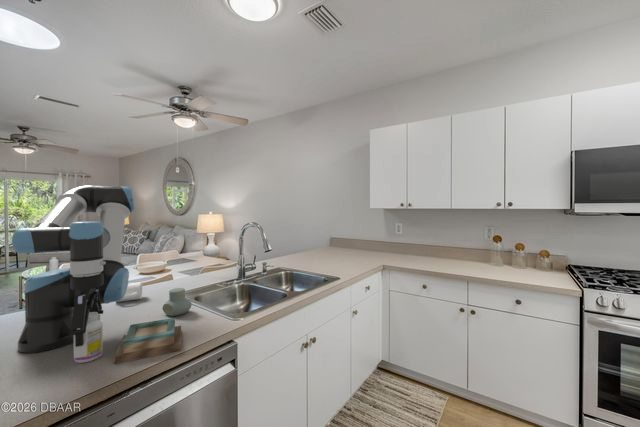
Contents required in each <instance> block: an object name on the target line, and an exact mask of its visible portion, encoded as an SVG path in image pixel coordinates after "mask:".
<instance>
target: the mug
mask: <svg viewBox="0 0 640 427" xmlns="http://www.w3.org/2000/svg"><path fill="white" fill-rule="evenodd" d="M142 297H143V283H142V282H132V283H128V286H127V290H126V293H125V296H124V297H123V298H122V299H121V300H120V301H116V302H115V303H122V302H129V301H136V300H142Z"/></svg>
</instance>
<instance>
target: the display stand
mask: <svg viewBox="0 0 640 427" xmlns="http://www.w3.org/2000/svg"><path fill="white" fill-rule="evenodd" d="M117 347H118V348H117V350H116V352H115V354H114V356H113V358H114V359H113V360H114V361H113V364H114V365H116V364H120V363H121V364H122V363H125V362H131V361H135V360H140V359H144V358H150V357H155V356H160V355H164V354H169V353H175V352H179V351H182V325H176V319H175V317H172V318H165V319H160V320H158V319H157V320H152V321H147V322H140V323H134V324H130V325H129V328H128V330H127V333H126V334H124V335H123V337H122V339H121V341H120V344H119V345H118V346H117Z"/></svg>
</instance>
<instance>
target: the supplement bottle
mask: <svg viewBox="0 0 640 427" xmlns="http://www.w3.org/2000/svg"><path fill="white" fill-rule="evenodd" d="M97 318H98V312H89V316H88V321H87V327H86V331H87V353H88V355H87V356H84V357H79V358H74V357H73V361H74V362H75V363H77V364H82V363H84V364H85V363H88V362H92V361H95V360H96V359H98V358H100V357H101V356H102V355H103V353H104V338H103V336H104V335H103V334H104V333H103V322H102V321H101V319H100V320H97ZM79 329H80V328H79ZM72 343H73V346H74V335H73V342H72Z"/></svg>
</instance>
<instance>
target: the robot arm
mask: <svg viewBox="0 0 640 427" xmlns="http://www.w3.org/2000/svg"><path fill="white" fill-rule="evenodd" d="M134 204H135V203H134V196H133V190H132V188H131V187H129V186H123V185H118V186H115V185H93V184H91V185H90V184H89V185H88V184H87V185H80V186H76V187H74V188H71V189H69V190H66V191H64V192H63V193H62V194H60V195H59V196H58V197H57V198H56V200H55V202H54V206H53V207H52V208H51V209H50V210H49V211H48V212H47V213H46V214H45V215H44V216H43V217H42V218H41V219H40V220H39V221H38V222H37V223H36V225H34V226H33V227H26V228H25V227H24V228H23V227H22V228H18V229H16V230H15V231H14V232H13V234H12V236H11V238H12V239H11V245H12V249H13V250H14V251H15V252H16V253H18V254H42V253H43V254H45V253H55V252H56V253H57V252H58V253H59V252H69V268H68V267H66V268H65V267H64V268H59V269H54V270H49V271H45V272H41V273H36V274H34V275H32V276H29V277H28V278H27V279H26V280H25V283H24V284H25V285H24V291H23V293H24V309H25V310H24V316H25V319H24V320H25V323H24V326H23V329H22V331H21V334H20V335H19V338H18V341H17V351H18V352H20V353H24V354H25V353H26V354H27V353H29V354H30V353H31V354H32V353H33V354H34V353H39V352H40V353H41V352H45V351H50V350H53V349H57V348H60V347H63V346H66V345H69V344H70V343H71V344H72V343H73V335H74V345H73V359H74V358H79V357H84V356H87V355H88V353H87V331H86V327H87V321H88V316H89V312H98V318H97V320H100V321H101V315H103V314H104V310H103V307H102V306H103V304H110V303H117V302H116V301H120V300H121V299H122V298H123V297H124V296H125V293H126V290H127V286H128V284H129V278H130V271H129V269H128V268H126V266H125V264H124V263H123V262H121V260H122V250H123V242H124V240H123V239H124V232H125V222H126V220H127V219H128V218H129V216H130V214H131V213H134V212H135V205H134ZM84 213H96V215H97V216H98V217H99V218H98V221H95V220H93V221H91V220H90V221H75V220H76V219H77V218H78V216H81V215H83V214H84ZM79 328H80V329H79Z"/></svg>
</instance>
